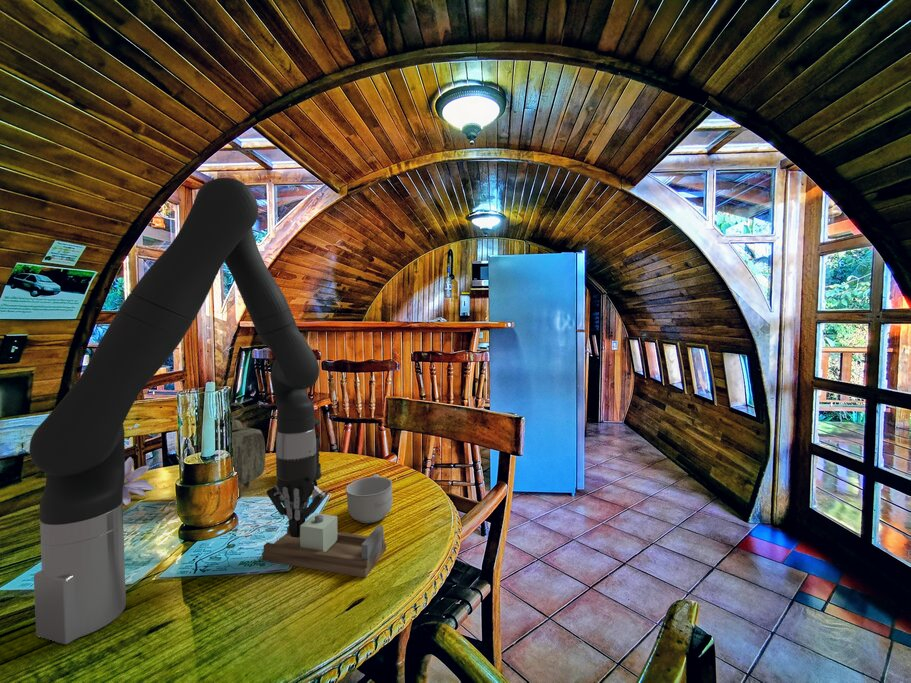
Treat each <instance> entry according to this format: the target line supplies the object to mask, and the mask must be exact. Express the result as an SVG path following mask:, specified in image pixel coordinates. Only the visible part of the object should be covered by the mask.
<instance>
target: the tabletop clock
mask: <svg viewBox="0 0 911 683" xmlns="http://www.w3.org/2000/svg"><path fill="white" fill-rule="evenodd" d="M232 406H238V407H241V408H242V410H241V412H240V413H237V415H235V414H234V413H232V412H231V413H230V414H231V422H232V448H233V467H234V471H235V472H237V475H238V486H239V487H240V486H242V485H243V486H244V487H245V488H247V487H249V486H250V482H251V481H254V480H255V479H257V478H258V479H259V477H261V476H262V475H263V474H264V472H265V471H264V470H265V467H266V444H265V438H264V435H263V432H262V430H261V429H257V428H254V427H253V428H252V427H248V426H243V425H244V424H243V423H242V421H240V420H238V419H237V418H239V417H241V416H242V415H243V414H244V413H245V407H244V405H243V404H242V403H239V402H231V406H230V407H232ZM242 496H243V492H241V491H239V498H238V499H240V498H242Z"/></svg>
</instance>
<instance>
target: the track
mask: <svg viewBox="0 0 911 683" xmlns="http://www.w3.org/2000/svg"><path fill="white" fill-rule="evenodd" d="M337 539H338V540H337V541H336V542H335V543H334V544H333V545H332V546H331V547H330V548H329V549H328V550H327V551H326V552H324V551H318V550H312V549H305V548H300V537H298V538H296V537H291V534H290V533H289V525H288V526H287V527H286V533H285V534H283V535H282V536H281V537H280V538H279V539H277V540H276V541H274V543H273V542H266V543H264V544H263V551H262V552H261V560H262V561H264V562H270V563H271V562H272V563H275V564H277V563H278V564H283V565H289V566H293V567H294V566H295V567H299V568H306V569H311V570H317V571H323V572H329V573H335V574H341V575H347V576H352V577H358V578H367V577H368V575H369V574H370V573H371V571H372V570H373V568H375V566H376V565H377V563H378V562H379V560H380V559H381V558H382V556H383V555H384V554H385V553H386V550H387V543H386V539H385V538H384V525H377V526H376V527H375V528H374V529H373V530H372V531H371V533H370V534H369V535H368V536H367V535H362V534H355V533H348V532H341V531H337Z"/></svg>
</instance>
